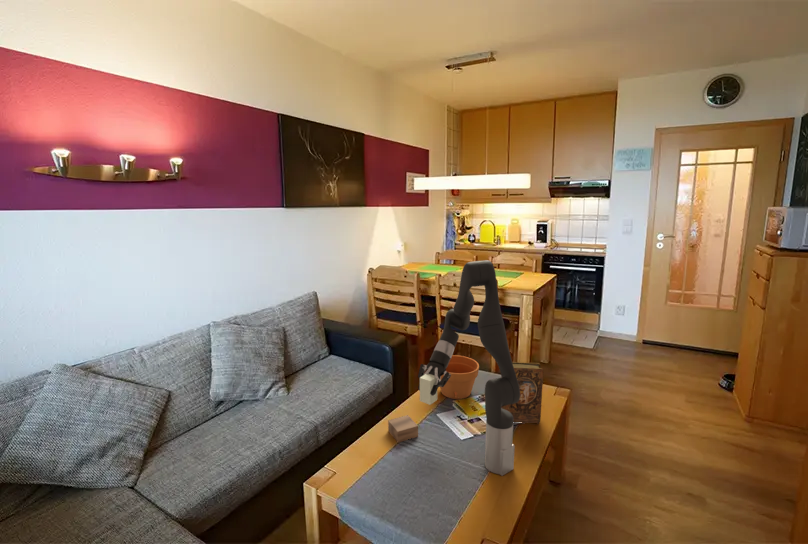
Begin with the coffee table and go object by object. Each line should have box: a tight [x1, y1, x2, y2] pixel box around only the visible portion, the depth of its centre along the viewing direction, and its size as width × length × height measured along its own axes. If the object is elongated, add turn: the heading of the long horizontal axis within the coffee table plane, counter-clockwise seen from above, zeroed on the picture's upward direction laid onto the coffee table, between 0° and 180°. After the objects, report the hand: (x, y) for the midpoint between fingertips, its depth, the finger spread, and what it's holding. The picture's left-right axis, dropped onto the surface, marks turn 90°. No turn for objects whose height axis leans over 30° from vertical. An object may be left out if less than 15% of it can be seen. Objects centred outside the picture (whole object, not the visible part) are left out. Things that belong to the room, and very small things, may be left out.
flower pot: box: [439, 354, 480, 400], centre depth 198 cm, size 21×21×15 cm
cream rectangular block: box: [419, 374, 438, 406], centre depth 162 cm, size 5×5×10 cm
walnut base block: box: [387, 414, 419, 443], centre depth 166 cm, size 9×9×5 cm
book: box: [500, 361, 544, 425], centre depth 173 cm, size 16×6×25 cm, turn 84°
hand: (425, 392), depth 161 cm, fingers closed on cream rectangular block, 5 cm apart
